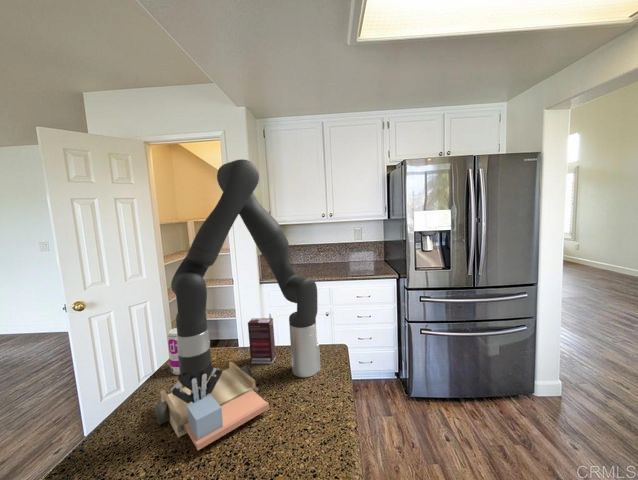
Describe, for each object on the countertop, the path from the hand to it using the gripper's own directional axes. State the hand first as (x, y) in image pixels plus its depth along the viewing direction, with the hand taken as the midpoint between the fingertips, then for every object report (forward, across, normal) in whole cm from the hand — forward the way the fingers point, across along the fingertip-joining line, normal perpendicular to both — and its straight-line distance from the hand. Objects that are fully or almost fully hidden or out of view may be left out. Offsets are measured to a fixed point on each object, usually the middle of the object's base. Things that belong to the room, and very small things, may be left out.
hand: (199, 412), depth 72 cm
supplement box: (+4, -29, -17) cm, 34 cm away
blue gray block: (+1, 0, +5) cm, 5 cm away
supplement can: (+4, -6, -34) cm, 35 cm away
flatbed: (+4, -5, -8) cm, 10 cm away
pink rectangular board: (+2, -6, 0) cm, 6 cm away
